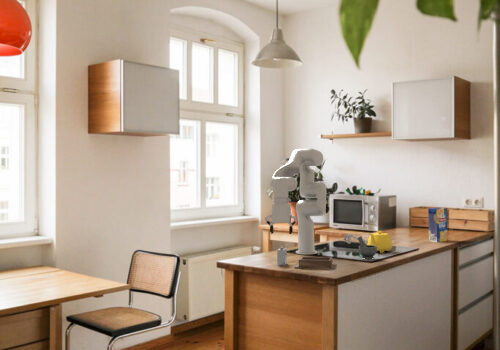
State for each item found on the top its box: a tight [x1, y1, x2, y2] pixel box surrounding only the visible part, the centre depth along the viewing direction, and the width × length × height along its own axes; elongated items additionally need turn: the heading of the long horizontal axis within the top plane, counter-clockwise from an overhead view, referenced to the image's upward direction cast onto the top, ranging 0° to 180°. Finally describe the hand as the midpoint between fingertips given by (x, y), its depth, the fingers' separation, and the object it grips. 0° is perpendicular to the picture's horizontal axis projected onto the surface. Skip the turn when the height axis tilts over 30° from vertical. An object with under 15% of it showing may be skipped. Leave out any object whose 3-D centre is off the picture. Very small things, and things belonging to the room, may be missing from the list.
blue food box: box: [427, 207, 448, 243], centre depth 348 cm, size 7×11×22 cm, turn 124°
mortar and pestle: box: [356, 236, 378, 259], centre depth 284 cm, size 11×9×12 cm
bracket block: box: [276, 246, 288, 267], centre depth 271 cm, size 6×4×9 cm, turn 167°
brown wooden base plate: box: [294, 256, 337, 270], centre depth 263 cm, size 12×20×4 cm, turn 77°
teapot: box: [366, 230, 393, 254], centre depth 306 cm, size 13×20×12 cm
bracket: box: [342, 233, 368, 245], centre depth 338 cm, size 3×21×10 cm, turn 50°
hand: (281, 233), depth 271 cm, fingers open, 9 cm apart
